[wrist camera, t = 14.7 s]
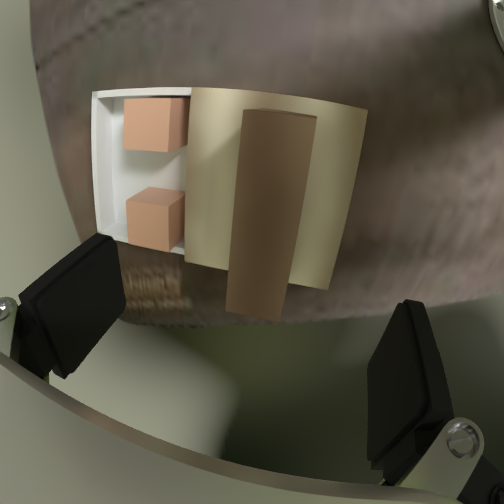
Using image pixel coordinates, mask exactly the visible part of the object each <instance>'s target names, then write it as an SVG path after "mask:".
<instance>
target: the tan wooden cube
mask: <svg viewBox="0 0 504 504" xmlns="http://www.w3.org/2000/svg"><path fill="white" fill-rule="evenodd" d="M126 216H127V230H128V242H129V244H132V245H137V246H141V247H146V248H151V249H155V250H160V251H165V252H170V251H171V250H172V249H173V248H174V247H175V246H176V244H177V243H178V242H179V241H180V240H181V239H182V238H183V237H184V236H185V191H179V190H171V189H164V188H156V187H147V188H146V189H144V190H142V191H140V192H139V193H137V194H135V195H134V196H132V197H130V198H129V199H127V200H126Z"/></svg>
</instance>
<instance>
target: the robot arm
mask: <svg viewBox="0 0 504 504" xmlns="http://www.w3.org/2000/svg"><path fill="white" fill-rule="evenodd" d="M489 12H490V18H491V22H492V25H493V28H494V32H495V34H496V36H497V39H498V41H499V44H500V46H501V48H502V49H503V51H504V0H489ZM19 299H20V301H21V304H20V305H19V306H18V305H17V302H16V300H14V299H13V298H10V297H1V298H0V504H504V475H503V474H502V473H501V472H500V471H499V470H498V469H497V468H496V467H495V466H494V465H492V464H491V463H490V462H489V461H488V460H487V459H486V458H484V456H482V452H483V449H484V439H483V435H482V433H481V431H480V429H479V427H477V425H475V424H474V423H473V422H472V421H470V420H468V419H465V418H454V414H453V408H452V403H451V398H450V394H449V389H448V385H447V381H446V377H445V372H444V368H443V364H442V360H441V357H440V353H439V351H438V348H437V345H436V342H435V339H434V336H433V332H432V329H431V325H430V322H429V319H428V316H427V313H426V309H425V306H424V304H423V303H422V302H418V301H413V300H408V299H406V300H405V301H404V302H403V303H398V304H397V306H396V308H395V310H394V313H393V315H392V317H391V319H390V321H389V323H388V325H387V328H386V330H385V332H384V334H383V336H382V338H381V340H380V342H379V344H378V346H377V348H376V350H375V352H374V353H373V355H372V357H371V359H370V361H369V364H368V368H367V381H368V382H367V384H368V437H367V439H368V440H367V459H368V461H371V470H383V478H384V480H383V481H382V482H381V483H380V484H379V485H369V484H354V483H342V482H333V481H325V480H318V479H311V478H304V477H298V476H291V475H286V474H280V473H275V472H270V471H265V470H260V469H256V468H252V467H247V466H243V465H239V464H235V463H232V462H228V461H224V460H221V459H217V458H214V457H210V456H207V455H204V454H201V453H198V452H195V451H192V450H188V449H186V448H182V447H180V446H177V445H174V444H171V443H169V442H166V441H163V440H161V439H158V438H155V437H153V436H151V435H148V434H145V433H143V432H141V431H139V430H136V429H134V428H132V427H129V426H127V425H125V424H123V423H121V422H119V421H116V420H114V419H112V418H110V417H108V416H106V415H104V414H102V413H100V412H98V411H96V410H94V409H92V408H90V407H88V406H86V405H85V404H83V403H81V402H79V401H77V400H75V399H74V398H72V397H70V396H68V395H67V394H65V393H63V392H61V391H60V390H58V389H56V388H55V387H53V386H51V385H50V384H49V372H50V371H51V370H52V371H53V372H54V373H55V374H56V375H58V376H60V377H61V378H63V379H66V377H67V376H68V375H69V374H70V373H73V372H74V371H75V370H76V369H77V368H78V366H79V365H80V364H81V363H82V361H83V360H84V359H85V357H86V356H87V355H88V354H89V352H90V351H91V350H92V349H93V347H94V346H95V345H96V344H97V343H98V341H99V340H100V339H101V338H102V336H103V335H104V334H105V333H106V331H107V330H108V329H109V328H110V327H111V325H112V324H113V323H114V322H115V321H116V319H117V318H118V317H119V316H120V315H121V314H122V312H123V311H124V309H125V306H126V300H125V295H124V289H123V283H122V277H121V270H120V264H119V257H118V249H117V244H116V242H115V241H114V239H113V237H111V236H109V235H105V234H100V233H96V234H94V235H93V236H92V237H90V238H89V239H88V240H86V241H85V242H84V243H82V244H81V245H80V246H78V247H77V248H76V249H74V250H73V251H72V252H70V253H69V254H68V255H67V256H65V257H64V258H63V259H61V260H60V261H59V262H58V263H56V264H55V265H54V266H53V267H51V268H50V269H49V270H48V271H46V272H45V273H44V274H43V275H41V276H40V277H39V278H38V279H37V280H35V281H34V282H33V283H32V284H31V285H29V287H27V288H26V289H25V290H24V291H23V292H21V293H20V294H19Z"/></svg>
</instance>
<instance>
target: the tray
mask: <svg viewBox="0 0 504 504" xmlns="http://www.w3.org/2000/svg"><path fill="white" fill-rule="evenodd" d="M191 89H192V88H135V89H119V90H106V91H96V92H92V120H91V139H92V171H93V188H94V201H95V212H96V221H97V230H98V233H100V234H105V235H109V236H111V237H113V239H114V240H117V241H122V242H127V243H129V242H128V230H127V216H126V200H127V199H129V198H130V197H132V196H134V195H135V194H137V193H139V192H140V191H142V190H144V189H146V188H147V187H156V188H164V189H171V190H179V191H185V190H186V164H187V145H186V146H183V147H181V148H178V149H175V150H173V151H170V152H157V151H143V150H127V149H123V125H124V99H134V98H191ZM170 252H173V253H178V254H183V255H185V236H184V237H183V238H182V239H181V240H180V241H179V242H178V243H177V244H176V246H175V247H174V248H173V249H172V250H171V251H170Z"/></svg>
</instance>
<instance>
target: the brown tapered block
mask: <svg viewBox="0 0 504 504" xmlns="http://www.w3.org/2000/svg"><path fill="white" fill-rule="evenodd" d="M316 122H317V116H314V115H308V114H302V113H295V112H289V111H282V110H274V109H266V108H259V109H245V110H243V115H242V125H241V135H240V145H239V155H238V165H237V175H236V186H235V197H234V208H233V219H232V231H231V243H230V255H229V268H228V281H227V294H226V308H225V311H228V312H233V313H237V314H242V315H246V316H251V317H255V318H260V319H265V320H270V321H275V322H280V319H281V314H282V310H283V305H284V300H285V296H286V291H287V286H288V281H289V276H290V271H291V266H292V261H293V256H294V251H295V245H296V240H297V235H298V230H299V224H300V219H301V213H302V208H303V202H304V196H305V190H306V185H307V179H308V173H309V167H310V160H311V154H312V148H313V142H314V135H315V128H316Z"/></svg>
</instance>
